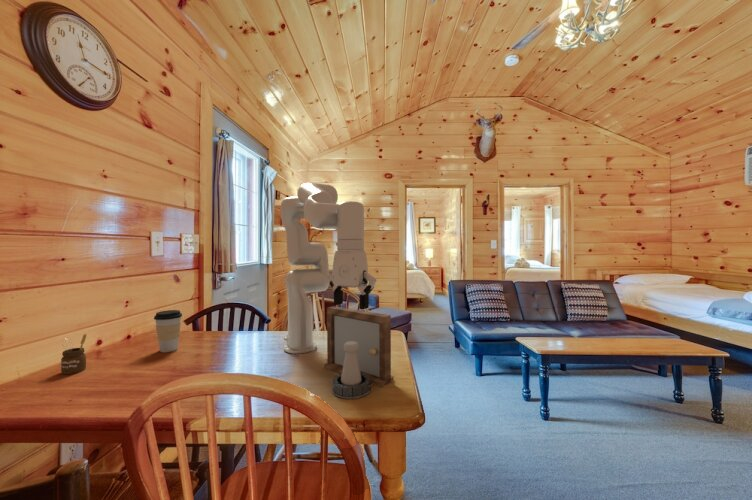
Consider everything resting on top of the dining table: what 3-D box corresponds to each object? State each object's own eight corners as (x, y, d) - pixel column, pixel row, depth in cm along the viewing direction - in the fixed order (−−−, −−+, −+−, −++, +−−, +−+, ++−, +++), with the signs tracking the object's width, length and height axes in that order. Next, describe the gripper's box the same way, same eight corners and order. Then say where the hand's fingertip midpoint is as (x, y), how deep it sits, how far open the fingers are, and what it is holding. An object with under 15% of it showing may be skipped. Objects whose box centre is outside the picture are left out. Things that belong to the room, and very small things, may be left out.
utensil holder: (69, 368, 105) (68, 333, 104) (91, 366, 106) (91, 331, 106) (55, 375, 99) (55, 338, 99) (79, 373, 100) (79, 336, 100)
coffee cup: (172, 353, 119) (172, 314, 118) (148, 353, 119) (147, 314, 119) (187, 346, 128) (187, 309, 128) (165, 346, 128) (164, 309, 128)
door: (331, 364, 103) (331, 316, 103) (337, 361, 106) (337, 314, 106) (377, 379, 92) (377, 324, 92) (383, 375, 94) (383, 322, 94)
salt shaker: (358, 393, 85) (358, 346, 85) (338, 391, 86) (338, 345, 86) (363, 384, 91) (363, 340, 91) (344, 382, 92) (344, 338, 92)
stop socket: (323, 391, 87) (323, 381, 87) (349, 378, 96) (349, 368, 96) (353, 403, 81) (353, 392, 81) (378, 387, 89) (378, 377, 89)
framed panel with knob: (324, 367, 104) (323, 308, 104) (336, 362, 109) (336, 305, 109) (382, 387, 90) (381, 318, 90) (393, 380, 95) (393, 314, 94)
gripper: (319, 246, 90) (319, 305, 90) (366, 246, 80) (366, 312, 80) (337, 245, 96) (338, 301, 96) (383, 246, 86) (383, 308, 86)
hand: (350, 306), depth 88 cm, fingers open, 9 cm apart
